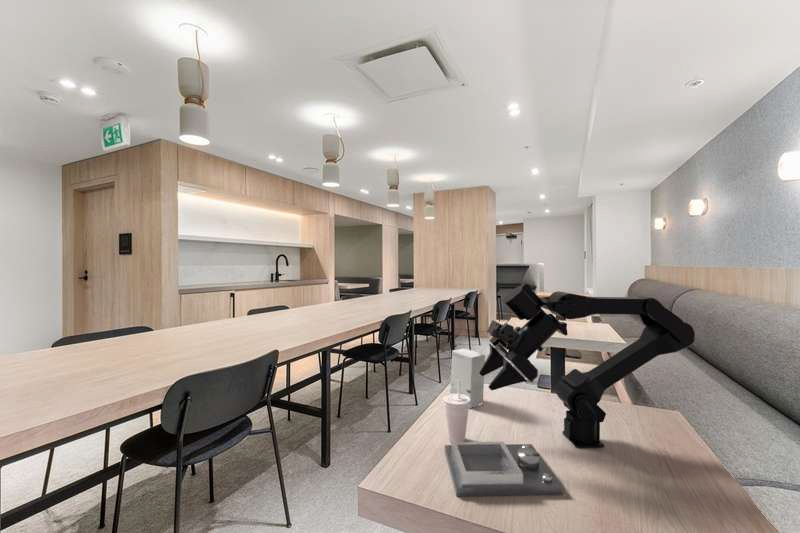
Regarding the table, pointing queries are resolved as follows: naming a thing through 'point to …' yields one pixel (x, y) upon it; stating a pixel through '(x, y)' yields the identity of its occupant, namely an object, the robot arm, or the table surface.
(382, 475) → the table surface
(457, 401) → the smoothie
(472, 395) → the skincare box
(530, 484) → the grey tray with knobs
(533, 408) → the table surface
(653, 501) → the table surface
